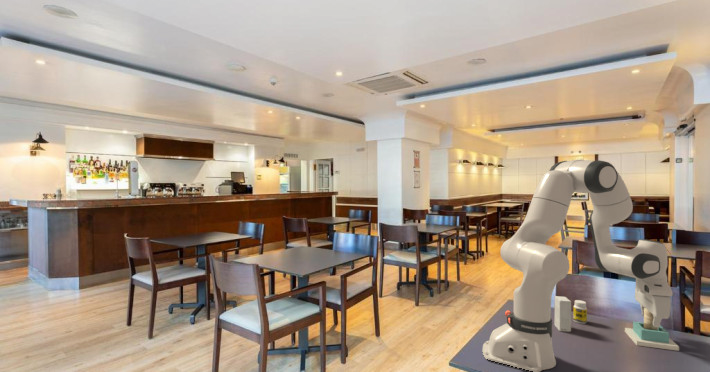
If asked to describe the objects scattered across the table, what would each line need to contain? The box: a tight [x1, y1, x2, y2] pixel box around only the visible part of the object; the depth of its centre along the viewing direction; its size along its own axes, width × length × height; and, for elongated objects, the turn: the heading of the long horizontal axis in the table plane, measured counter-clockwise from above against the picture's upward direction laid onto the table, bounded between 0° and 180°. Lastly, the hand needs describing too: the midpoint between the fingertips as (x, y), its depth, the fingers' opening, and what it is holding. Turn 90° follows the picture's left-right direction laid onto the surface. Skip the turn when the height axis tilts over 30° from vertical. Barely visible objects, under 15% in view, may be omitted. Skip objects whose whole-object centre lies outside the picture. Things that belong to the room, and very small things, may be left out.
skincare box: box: [554, 295, 572, 333], centre depth 141 cm, size 6×4×12 cm
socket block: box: [624, 321, 680, 352], centre depth 130 cm, size 12×12×5 cm
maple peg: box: [643, 308, 658, 331], centre depth 130 cm, size 4×4×10 cm
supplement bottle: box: [572, 299, 588, 325], centre depth 147 cm, size 5×5×8 cm
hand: (650, 321), depth 130 cm, fingers open, 8 cm apart
